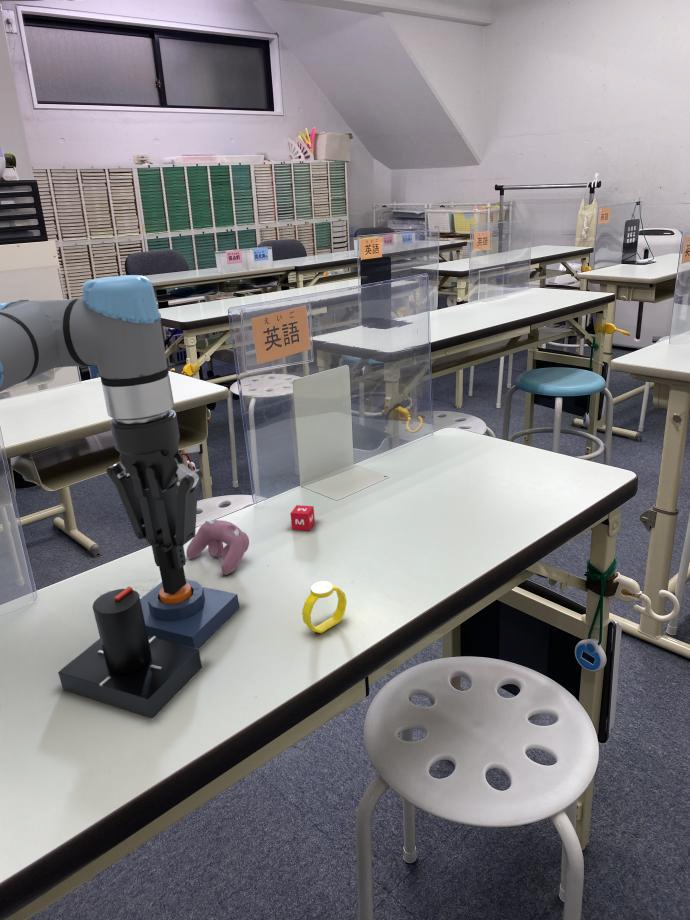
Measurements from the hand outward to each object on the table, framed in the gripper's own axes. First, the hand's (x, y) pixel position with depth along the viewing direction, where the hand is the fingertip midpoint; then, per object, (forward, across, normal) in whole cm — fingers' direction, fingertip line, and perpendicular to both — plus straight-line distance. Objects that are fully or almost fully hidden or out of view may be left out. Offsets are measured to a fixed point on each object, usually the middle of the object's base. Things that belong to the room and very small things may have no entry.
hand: (175, 588), depth 88 cm
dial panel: (+5, -2, +12) cm, 13 cm away
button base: (+5, 0, 0) cm, 5 cm away
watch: (+5, -19, -5) cm, 20 cm away
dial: (+2, -2, +11) cm, 12 cm away
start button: (+2, 0, 0) cm, 2 cm away
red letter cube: (+5, -3, -29) cm, 30 cm away
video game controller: (+5, +4, -15) cm, 16 cm away
